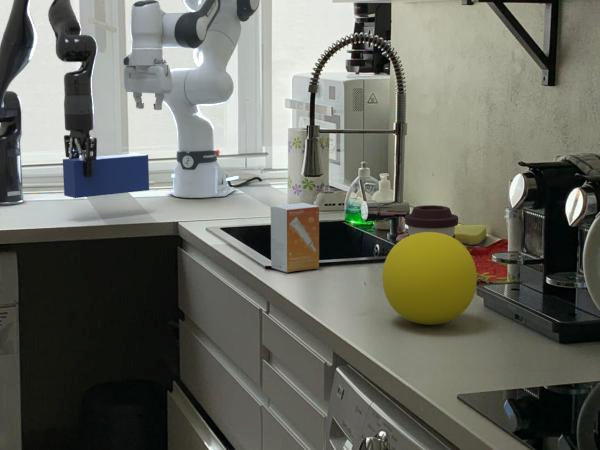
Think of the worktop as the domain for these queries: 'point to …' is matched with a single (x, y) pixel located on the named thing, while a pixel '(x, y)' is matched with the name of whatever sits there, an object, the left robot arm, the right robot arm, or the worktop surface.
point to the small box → (295, 237)
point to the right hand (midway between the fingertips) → (148, 109)
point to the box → (106, 175)
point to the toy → (429, 278)
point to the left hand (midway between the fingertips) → (81, 175)
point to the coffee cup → (431, 220)
